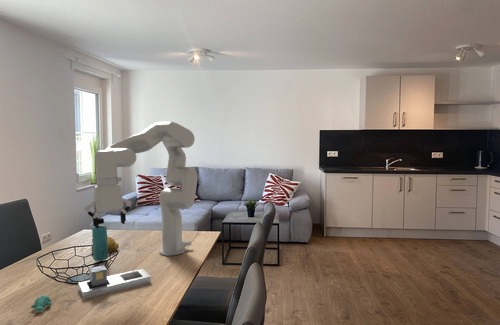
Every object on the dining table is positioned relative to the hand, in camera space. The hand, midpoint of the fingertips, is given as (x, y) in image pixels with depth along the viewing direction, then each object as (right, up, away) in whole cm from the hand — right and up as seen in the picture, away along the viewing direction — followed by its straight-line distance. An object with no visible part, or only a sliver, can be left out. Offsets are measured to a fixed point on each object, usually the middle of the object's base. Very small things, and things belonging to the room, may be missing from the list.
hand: (110, 225), depth 134 cm
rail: (+3, -22, -3) cm, 23 cm away
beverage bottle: (-13, -21, +23) cm, 34 cm away
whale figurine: (-14, -24, -21) cm, 35 cm away
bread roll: (-18, -20, +37) cm, 46 cm away
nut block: (-1, -23, -7) cm, 24 cm away
